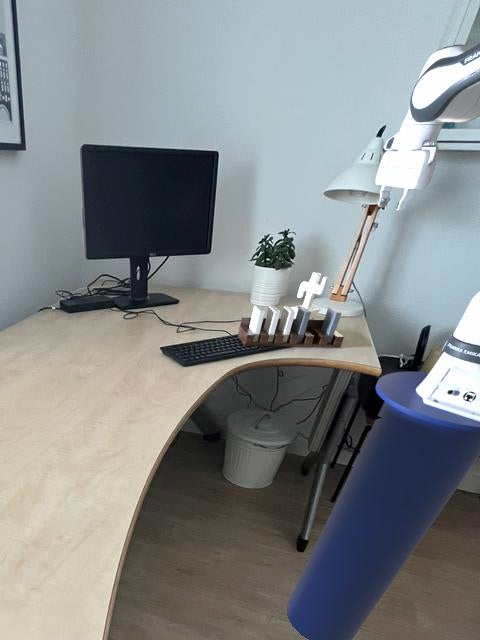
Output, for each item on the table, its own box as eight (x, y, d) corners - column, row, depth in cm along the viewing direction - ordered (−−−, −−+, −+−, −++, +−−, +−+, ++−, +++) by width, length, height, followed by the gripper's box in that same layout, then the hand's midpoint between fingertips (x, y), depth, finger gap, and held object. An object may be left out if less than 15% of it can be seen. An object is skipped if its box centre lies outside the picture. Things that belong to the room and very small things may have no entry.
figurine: (298, 314, 162) (312, 269, 152) (320, 320, 156) (335, 274, 146) (285, 316, 159) (298, 270, 149) (307, 323, 153) (322, 276, 143)
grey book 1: (301, 342, 135) (311, 312, 129) (296, 342, 135) (305, 311, 129) (294, 336, 140) (303, 306, 134) (289, 336, 140) (298, 306, 134)
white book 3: (286, 342, 135) (295, 311, 129) (281, 342, 135) (290, 311, 129) (280, 336, 140) (289, 306, 134) (275, 335, 140) (284, 306, 134)
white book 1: (257, 341, 135) (265, 311, 129) (252, 341, 135) (259, 311, 129) (252, 335, 140) (259, 305, 134) (247, 335, 140) (254, 305, 134)
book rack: (340, 347, 134) (347, 328, 131) (244, 345, 134) (249, 326, 131) (328, 338, 141) (335, 319, 138) (237, 336, 141) (241, 317, 137)
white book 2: (272, 342, 135) (280, 311, 129) (267, 342, 135) (275, 311, 129) (266, 335, 140) (274, 305, 134) (261, 335, 140) (269, 305, 134)
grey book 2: (330, 343, 135) (341, 312, 129) (325, 343, 135) (336, 312, 129) (323, 336, 140) (333, 307, 134) (318, 336, 140) (328, 307, 134)
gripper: (454, 140, 100) (424, 212, 109) (406, 142, 116) (383, 205, 125) (427, 140, 100) (399, 212, 109) (383, 141, 116) (361, 204, 125)
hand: (390, 208), depth 117 cm, fingers open, 8 cm apart
